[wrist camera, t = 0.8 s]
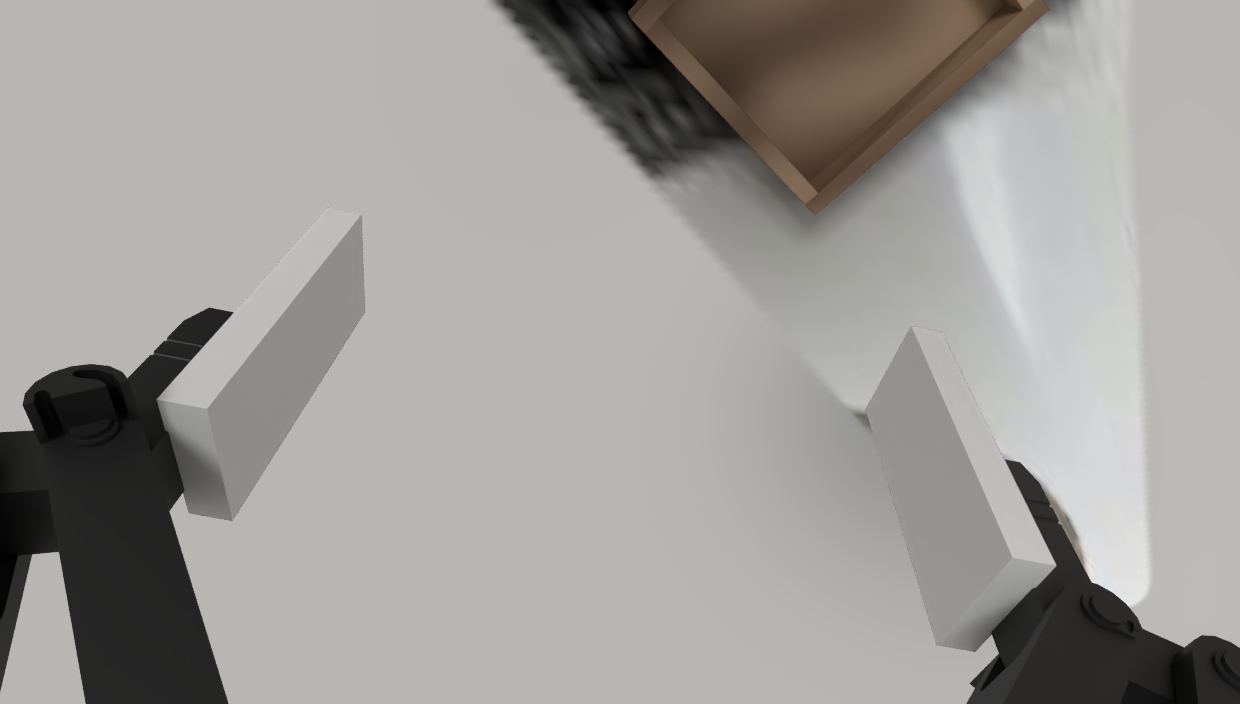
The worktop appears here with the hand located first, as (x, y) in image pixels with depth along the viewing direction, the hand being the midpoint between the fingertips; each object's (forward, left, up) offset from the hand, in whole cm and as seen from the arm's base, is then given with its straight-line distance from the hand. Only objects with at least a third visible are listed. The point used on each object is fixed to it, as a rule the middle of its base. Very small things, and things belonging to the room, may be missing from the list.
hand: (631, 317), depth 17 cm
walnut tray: (+4, +10, -20) cm, 22 cm away
